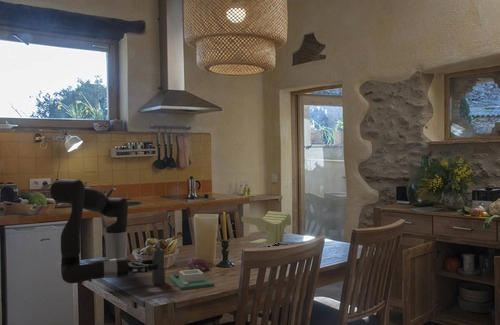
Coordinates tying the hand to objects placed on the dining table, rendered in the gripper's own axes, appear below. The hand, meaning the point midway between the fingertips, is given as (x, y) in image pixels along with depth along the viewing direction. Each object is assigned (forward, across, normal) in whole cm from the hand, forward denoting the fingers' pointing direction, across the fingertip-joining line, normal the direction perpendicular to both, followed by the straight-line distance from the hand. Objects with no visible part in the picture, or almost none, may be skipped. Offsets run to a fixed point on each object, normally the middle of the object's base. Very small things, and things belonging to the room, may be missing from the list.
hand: (155, 264), depth 197 cm
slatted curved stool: (+79, +57, +8) cm, 98 cm away
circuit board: (+14, -3, +8) cm, 16 cm away
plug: (+1, 0, +8) cm, 8 cm away
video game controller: (+23, +13, +8) cm, 28 cm away
